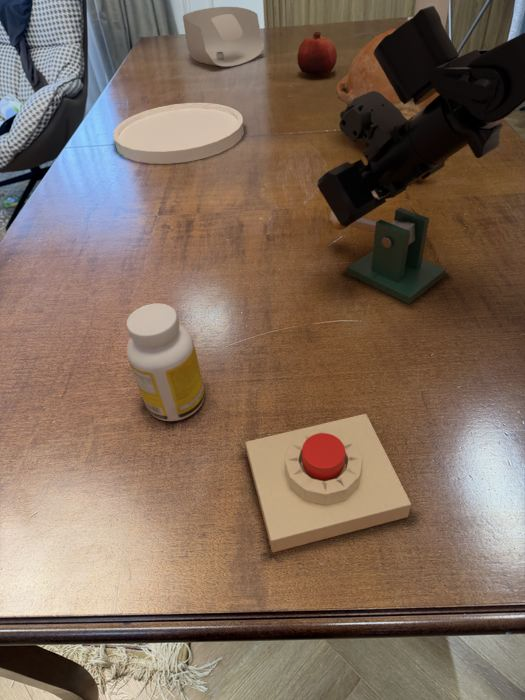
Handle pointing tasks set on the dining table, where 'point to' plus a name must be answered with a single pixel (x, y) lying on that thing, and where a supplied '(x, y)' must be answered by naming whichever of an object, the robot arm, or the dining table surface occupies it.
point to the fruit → (317, 55)
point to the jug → (374, 80)
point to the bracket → (398, 260)
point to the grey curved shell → (223, 35)
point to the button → (323, 456)
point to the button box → (324, 485)
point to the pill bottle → (164, 362)
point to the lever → (373, 225)
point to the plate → (178, 133)
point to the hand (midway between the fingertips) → (345, 203)
